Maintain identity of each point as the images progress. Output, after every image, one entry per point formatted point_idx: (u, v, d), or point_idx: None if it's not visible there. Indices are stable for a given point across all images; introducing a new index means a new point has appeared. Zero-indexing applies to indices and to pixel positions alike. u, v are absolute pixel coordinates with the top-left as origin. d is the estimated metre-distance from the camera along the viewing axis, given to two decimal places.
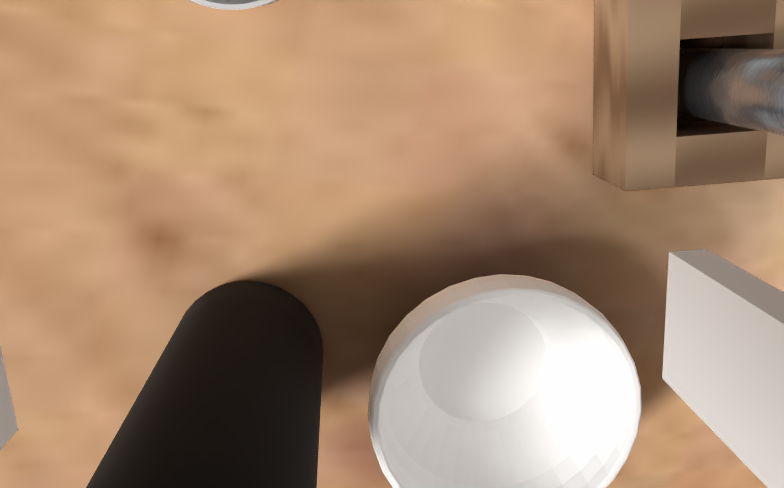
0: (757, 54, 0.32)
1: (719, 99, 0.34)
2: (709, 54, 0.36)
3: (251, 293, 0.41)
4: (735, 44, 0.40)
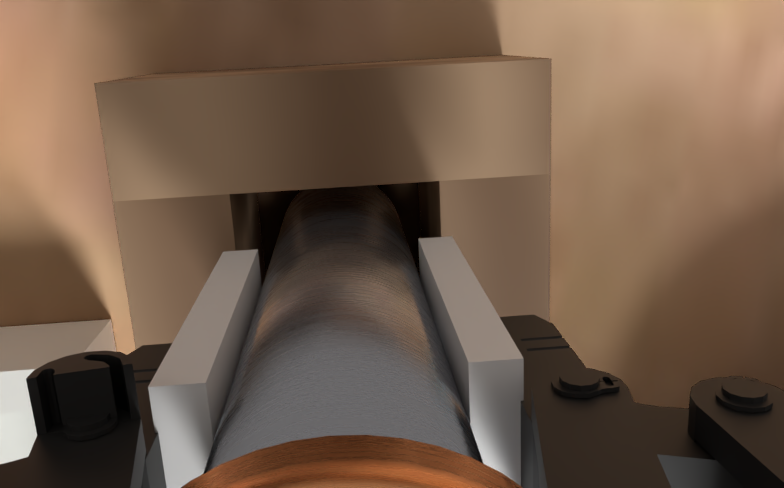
0: None
1: None
2: None
3: None
4: None
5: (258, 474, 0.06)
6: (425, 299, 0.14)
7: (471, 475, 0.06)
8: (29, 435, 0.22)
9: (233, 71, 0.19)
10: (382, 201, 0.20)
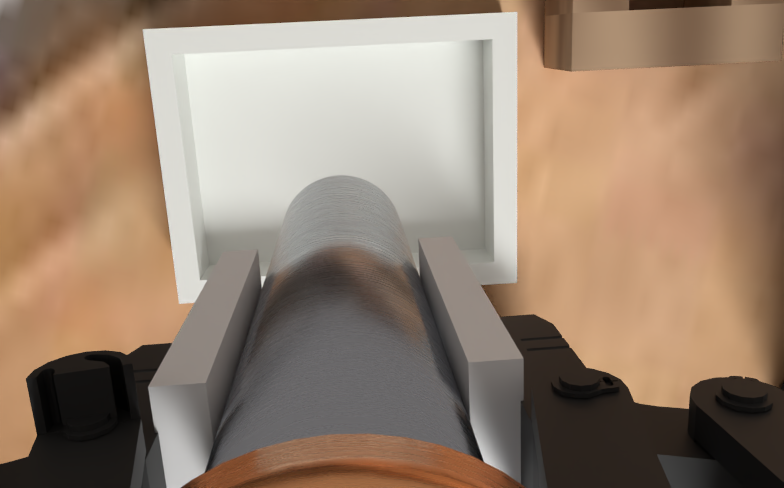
0: None
1: None
2: None
3: None
4: None
5: (260, 473, 0.06)
6: (425, 299, 0.14)
7: (472, 474, 0.06)
8: (454, 82, 0.38)
9: None
10: (382, 201, 0.20)
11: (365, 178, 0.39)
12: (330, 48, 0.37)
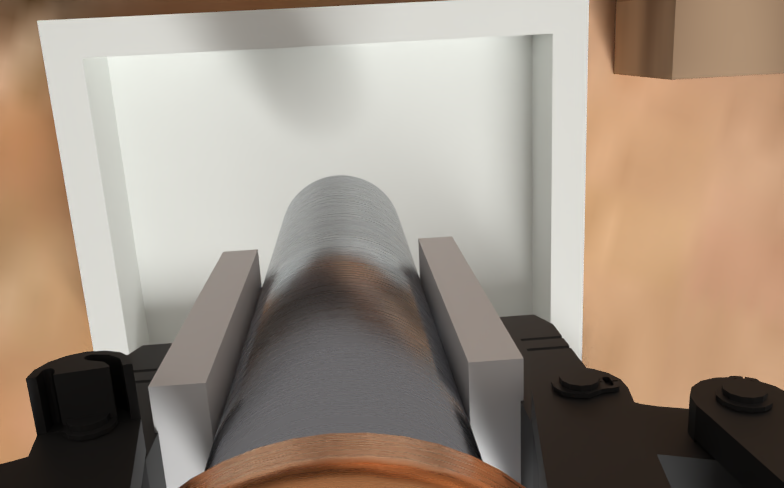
0: None
1: None
2: None
3: None
4: None
5: (259, 471, 0.06)
6: (425, 298, 0.14)
7: (470, 472, 0.06)
8: (492, 95, 0.27)
9: None
10: (382, 201, 0.20)
11: None
12: (317, 48, 0.26)
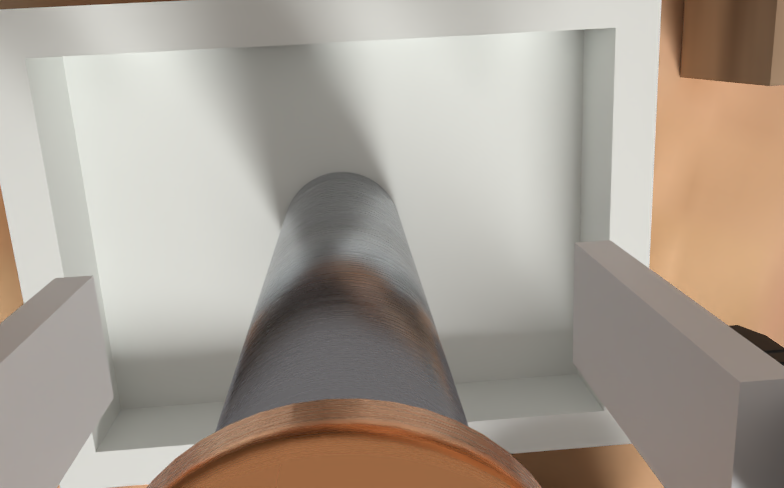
0: None
1: None
2: None
3: None
4: None
5: (263, 431, 0.06)
6: (421, 288, 0.15)
7: (454, 434, 0.07)
8: (533, 103, 0.22)
9: None
10: (381, 196, 0.21)
11: None
12: (320, 46, 0.21)
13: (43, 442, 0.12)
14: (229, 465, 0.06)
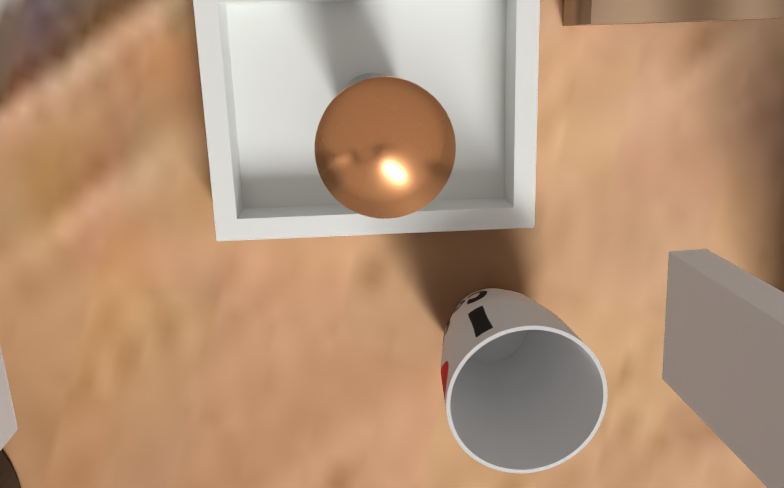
0: None
1: None
2: None
3: None
4: None
5: (365, 79, 0.25)
6: None
7: None
8: (479, 37, 0.40)
9: None
10: None
11: None
12: (363, 2, 0.40)
13: None
14: (358, 82, 0.24)
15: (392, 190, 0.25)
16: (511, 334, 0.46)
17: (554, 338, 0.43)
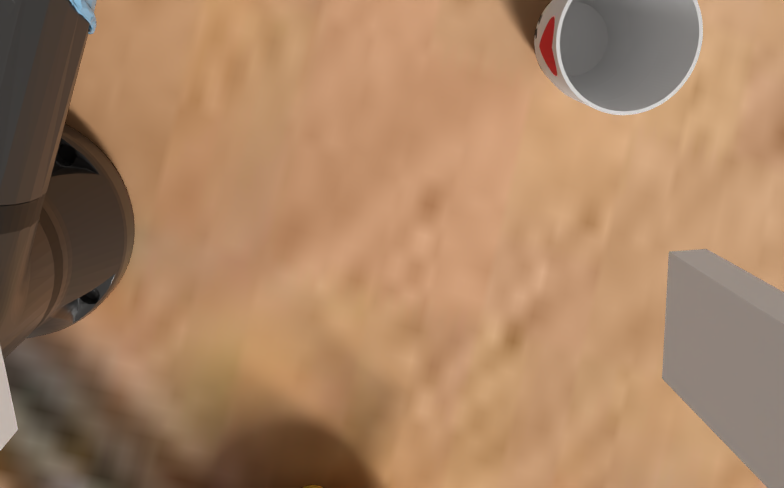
0: None
1: None
2: None
3: None
4: None
5: None
6: None
7: None
8: None
9: None
10: None
11: None
12: None
13: None
14: None
15: None
16: (592, 47, 0.49)
17: (638, 30, 0.46)
